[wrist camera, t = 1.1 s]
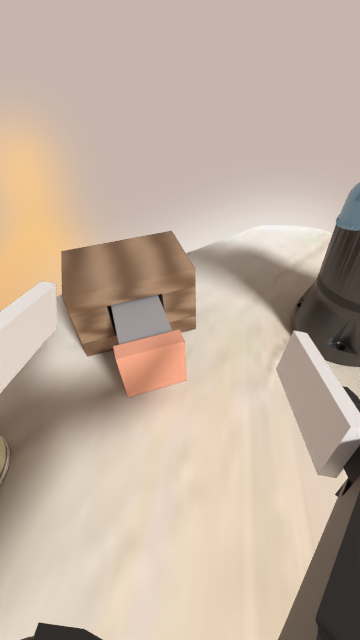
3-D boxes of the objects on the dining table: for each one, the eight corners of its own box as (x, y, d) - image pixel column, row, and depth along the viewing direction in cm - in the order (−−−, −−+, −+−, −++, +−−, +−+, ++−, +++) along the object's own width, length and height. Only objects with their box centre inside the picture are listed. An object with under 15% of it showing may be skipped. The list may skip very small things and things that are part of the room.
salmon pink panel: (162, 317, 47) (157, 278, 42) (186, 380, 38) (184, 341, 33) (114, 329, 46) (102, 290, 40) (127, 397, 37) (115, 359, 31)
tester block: (175, 287, 56) (171, 230, 48) (195, 328, 48) (195, 269, 40) (83, 308, 53) (61, 251, 45) (87, 356, 45) (62, 297, 36)
